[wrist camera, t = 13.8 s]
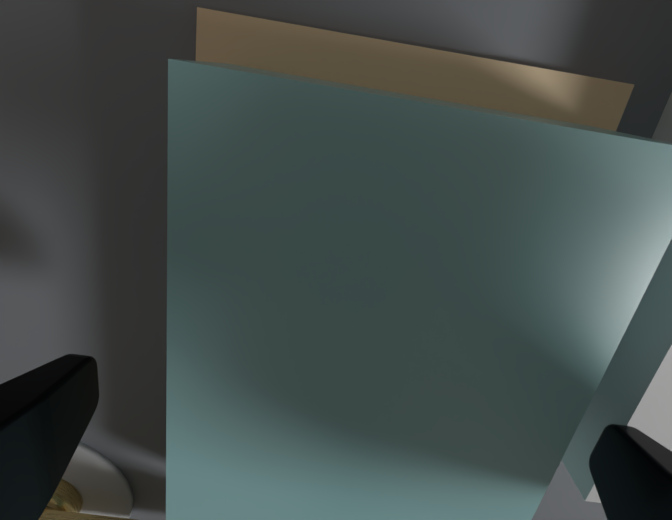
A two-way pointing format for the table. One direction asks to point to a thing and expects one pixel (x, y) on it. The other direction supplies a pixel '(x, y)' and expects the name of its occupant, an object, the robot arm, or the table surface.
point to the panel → (152, 171)
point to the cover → (388, 295)
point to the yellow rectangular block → (69, 506)
